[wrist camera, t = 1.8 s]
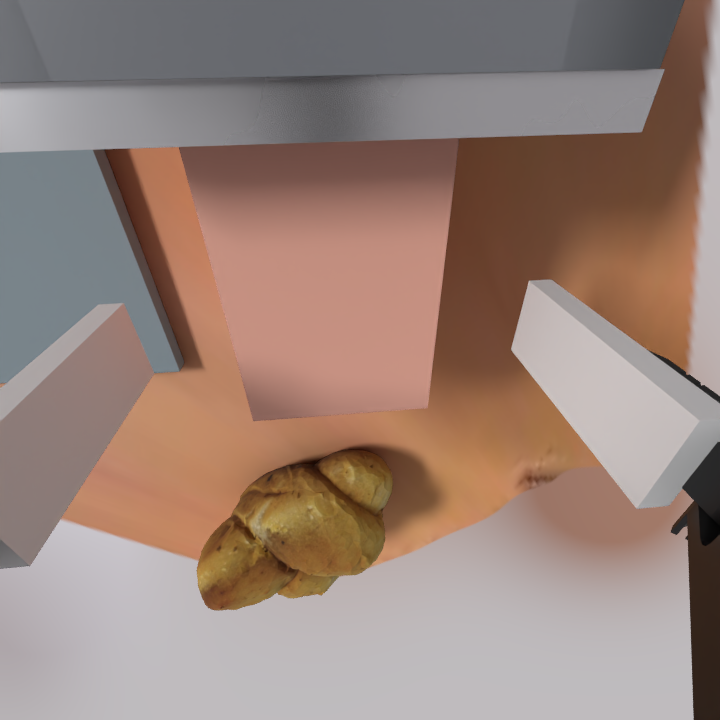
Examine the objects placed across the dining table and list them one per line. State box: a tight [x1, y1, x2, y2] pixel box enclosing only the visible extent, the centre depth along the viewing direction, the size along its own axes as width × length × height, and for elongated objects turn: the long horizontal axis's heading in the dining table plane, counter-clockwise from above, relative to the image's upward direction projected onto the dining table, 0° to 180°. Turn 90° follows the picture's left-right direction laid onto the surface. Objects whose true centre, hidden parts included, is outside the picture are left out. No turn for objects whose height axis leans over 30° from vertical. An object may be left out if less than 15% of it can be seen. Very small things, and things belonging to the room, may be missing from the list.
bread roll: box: [197, 450, 393, 610], centre depth 24 cm, size 13×10×8 cm
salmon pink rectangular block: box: [179, 138, 459, 421], centre depth 12 cm, size 13×6×8 cm, turn 1°
